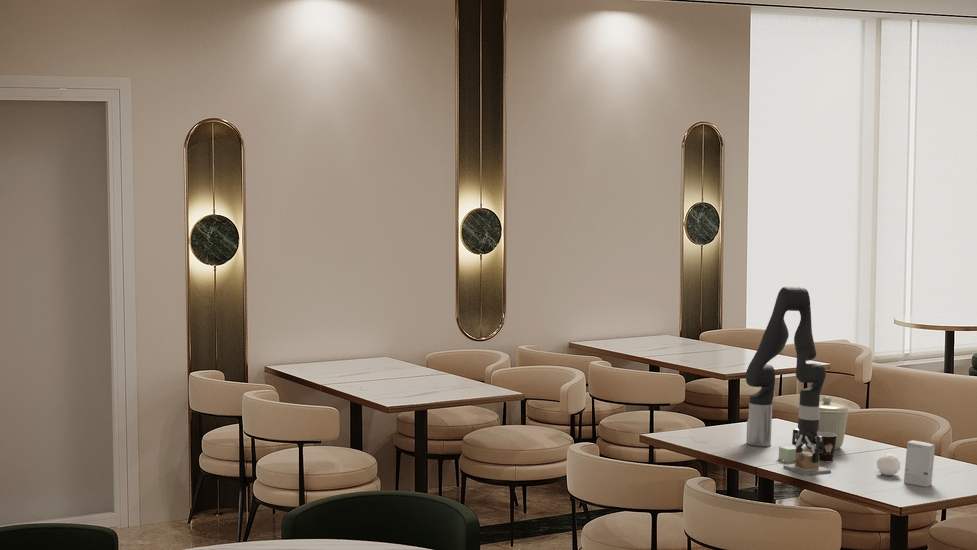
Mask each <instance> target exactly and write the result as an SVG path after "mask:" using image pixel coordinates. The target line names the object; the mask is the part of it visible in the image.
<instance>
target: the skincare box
mask: <svg viewBox="0 0 977 550" xmlns="http://www.w3.org/2000/svg"><path fill="white" fill-rule="evenodd" d="M935 448H936V444H934V443H929V442H924V441H919V440H909V441H907V445H906V452H905V453H906V454H905V466H904V475H903V483H904V484H908V485H912V486H913V485H914V486H919V487H923V488H924V487H926V488H927V487H930V486H932V482H933V470H934V464H935V463H934V461H935V452H936V451H935V450H936V449H935Z"/></svg>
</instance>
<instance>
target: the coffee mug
mask: <svg viewBox="0 0 977 550" xmlns="http://www.w3.org/2000/svg"><path fill="white" fill-rule="evenodd" d="M817 436H823V437H824V451H823V452H820V453H819V462H823V461H824V462H825V463H829V462H830V461H831V462H833V460H834V456H835V455H834V454H835V450H836V449H835V443H836V437H837V435H836V434H833V433H828V432H817ZM804 446H805V447H807V448H808V450H810V451H812V449H811V448H810V447H809V445H807V444H804ZM814 448H815V447H814ZM819 449H820V446H819ZM834 449H835V450H834ZM815 450H816V448H815ZM812 452H813V451H812ZM828 461H829V462H828ZM824 462H823V463H824Z"/></svg>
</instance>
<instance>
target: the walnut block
mask: <svg viewBox="0 0 977 550" xmlns="http://www.w3.org/2000/svg"><path fill="white" fill-rule="evenodd" d="M812 453H813V452H810V451H802V452H799V453H795V462H794V464H795V466H796V467H799V468H802V469H805V470H809V469H819V466H820V461H818V463H812Z"/></svg>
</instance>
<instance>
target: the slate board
mask: <svg viewBox="0 0 977 550" xmlns="http://www.w3.org/2000/svg"><path fill="white" fill-rule="evenodd" d="M783 467H784V469H785V468H786V469H785V470H788V469H789V471H792V472H794V473H797V474H800V475H802V476H813V475H814V476H815V475H821V474H822V475H823V474H831V473H832V469H830V468H829V469H828V468H826V467H823V466H820V465H819V469H809V470H805V469H802V468H799V467H796V466H795V463H791V464H790V463H789V464H784V465H783V466H782V468H783Z"/></svg>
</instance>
